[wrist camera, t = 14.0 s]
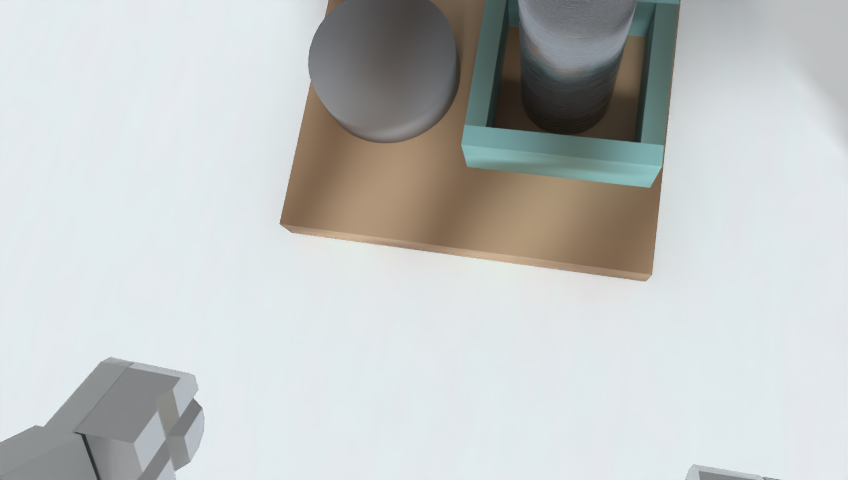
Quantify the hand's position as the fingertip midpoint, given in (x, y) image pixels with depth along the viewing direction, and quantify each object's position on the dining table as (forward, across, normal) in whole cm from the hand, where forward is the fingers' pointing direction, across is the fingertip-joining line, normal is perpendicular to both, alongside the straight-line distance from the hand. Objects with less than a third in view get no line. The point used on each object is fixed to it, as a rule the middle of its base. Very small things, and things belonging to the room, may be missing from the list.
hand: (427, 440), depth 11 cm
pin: (+20, -2, +1) cm, 20 cm away
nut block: (+20, +2, +3) cm, 21 cm away
